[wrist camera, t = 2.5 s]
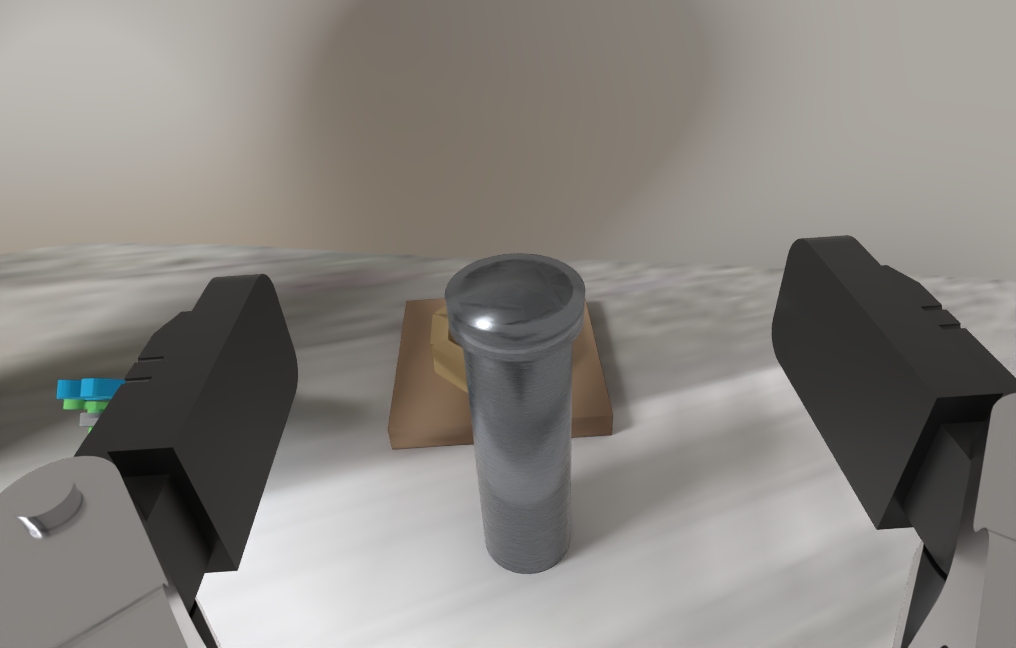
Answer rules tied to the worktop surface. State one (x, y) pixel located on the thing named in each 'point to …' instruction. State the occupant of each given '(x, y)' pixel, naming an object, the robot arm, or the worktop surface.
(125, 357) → the worktop surface
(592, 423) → the stand
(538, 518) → the pin
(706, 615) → the worktop surface
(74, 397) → the blue irregular figure
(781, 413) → the worktop surface
